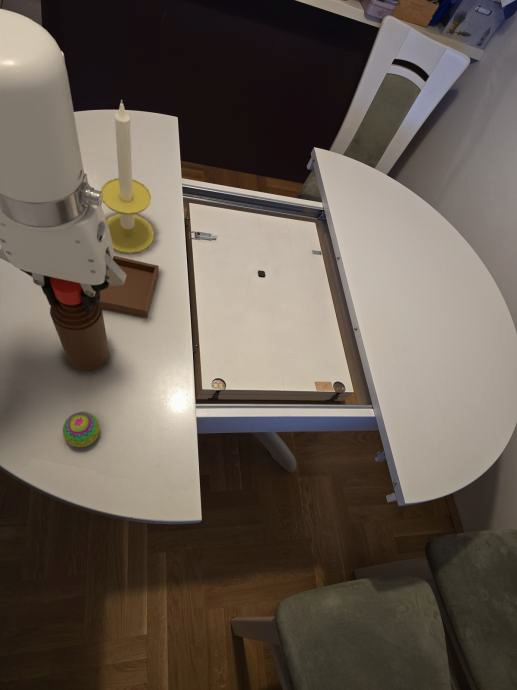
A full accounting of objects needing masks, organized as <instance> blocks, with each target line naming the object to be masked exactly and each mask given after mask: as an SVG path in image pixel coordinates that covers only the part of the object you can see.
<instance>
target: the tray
mask: <svg viewBox="0 0 517 690" xmlns="http://www.w3.org/2000/svg"><path fill="white" fill-rule="evenodd" d="M113 260H114V261H115V263H116V264H117V265H118V266H119V267H120V268H121V269H122V270H123V271H124V272H125V274H126V275H127V276H126V279H125V282H124V285H119V286H108V288H106V289H104V290H101V291H100V300H99V301H100V303H101V306H102V310H106V311H112V312H117V313H121V314H128V315H131V316H135V317H141V318H146V319H147V318H148V314H149V310H150V307H151V303H152V299H153V295H154V292H155V288H156V286H157V285H156V284H157V281H158V276H159V273H160V272H159V270H160V265H157V264H154V263H153V264H152V263H148V262H144V261H139V260H135V259H130V258H127V257H122V256H117V255H114V256H113Z"/></svg>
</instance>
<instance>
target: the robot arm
mask: <svg viewBox="0 0 517 690" xmlns="http://www.w3.org/2000/svg"><path fill="white" fill-rule="evenodd" d="M61 51H62V50H61V48H60V47H59V44H58V43H57V41H56V39H55V38H54V37H53V36H52V35H51V34H50V32H48V30H47V29H45V28H44V27H43V26H42V25H41V24H39V23H38V22H36V21H34V20H33V19H31V18H29V17H27V16H25V15H22V14H20V13H17V12H14V11H11V10H8V9H3V8H0V246H1V247H0V259H1V260H3V261H4V262H6V263H9V264H11V266H13V267H15V268H17V269H18V270H20V271H21V272H23V273H24V274H26V275H28V276H29V277H31V278H32V282H33V283H34V284H35V285H36V286H39V287H40V288H41V289H42V293H43V294H44V296H45V298H46V300H47V302H48V304H49V306H51V305H52V306H55V305H57V303H58V300H57V298H56V297H55V294H54V291H53V288H52V286H51V283H50V277H54V278H59V279H63V280H68V281H73V282H78V283H80V285H81V287H82V289H83V291H82V293H81V299H82V303H83V307H84V311H86V313H91V311H92V309H93V306H94V305H98V303H99V300H100V291H101V290H104V289H106V288H108V286H119V285H124V282H125V279H126V276H127V275H126V274H125V272H124V271H123V270H122V269H121V268H120V267H119V266H118V265H117V264H116V263H115V261H114V260H113V256H115V250H114V249H113V244H112V239H111V235H110V231H109V227H108V223H107V217H106V214H105V212H104V209H103V207H102V205H103V201H102V200H103V193H102V191H101V190H97V189H95V187H94V186H93V187H92V186H91V185H90V183H89V181H88V180H89V179H88V174H87V173H85V171H84V163H83V158H82V153H81V148H80V142H79V141H80V140H79V136H78V135H79V134H78V129H77V124H76V117H75V112H74V105H73V100H72V99H73V98H72V94H71V93H72V92H71V86H70V81H69V76H68V70H67V67H66V62H65V61H64V60H65V56H64V57H63V55H62V52H63V51H62V52H61Z"/></svg>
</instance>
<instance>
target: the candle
mask: <svg viewBox="0 0 517 690" xmlns="http://www.w3.org/2000/svg"><path fill="white" fill-rule="evenodd" d="M114 128H115V140H116V142H115V144H116V154H117V155H116V159H117V172H118V177H117V178H113V179H111V180H108V181H107V182H106V183H104V184H103V185H102V187H101V190H100V191H102V193H103V200H102V203H103V204H104V205H105V206H106V207H107V208H108V209H109V210H111V211H113V212H116V213H117V214H114V215H113V216H109V217H108V218H106V220H107V223H108V227H109V231H110V235H111V239H112V244H113V250H114V251H117V252H119V253H124V254H134V253H135V254H136V253H141V252H142V251H145V250H147V249H148V248H149V247H150V246H151V245H152V244H153V242H154V237H155V232H154V229H153V226H152V224H150V223H149V222H148V221H147V219H145V218H143V217H141V216H139V215H138V214H139V213H142V212H144V211H145V210H147V208H148V207H149V206H150V205H151V200H152V195H151V193H150V190H149V189H148V188H147V187H146V186H145V185H144V183H142V182H140V181H138V180H136V179H133V167H132V166H133V165H132V136H131V133H132V132H131V131H132V130H131V117H130V115H129V114H128V113H127V111H126V109H125V106H124V103H123V99H121V100H120V104H119V108H118V111H117V112H116V113H115V114H114Z"/></svg>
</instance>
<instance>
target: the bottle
mask: <svg viewBox="0 0 517 690" xmlns="http://www.w3.org/2000/svg"><path fill="white" fill-rule="evenodd" d="M49 315H50V317H51V320H52V323H53V325H54V328H55V331H56V333H57V336H58V338H59V341H60V343H61V346H62V349H63V351H64V354H65V356H66V360H67V361H68V363H69V364H70V366H72V367H73V368H74V369H76V370H78V371H81V372H91V371H95V370H99V368H102V367H103V366H104V365H105V364H106V362H107V361H108V359H109V354H110V352H109V351H110V349H109V345H108V338H107V331H106V326H105V319H104V313H103V309H102V306H101V303H100V301H99V303H98V305H94V306H93V309H92V311H91V313H86V311H84V307H83V303H82V302H81V303H79V304H76V305H66V304H63V303H61V302H60V301H58V303H57V305H55V306H52V305H50V308H49Z"/></svg>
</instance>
